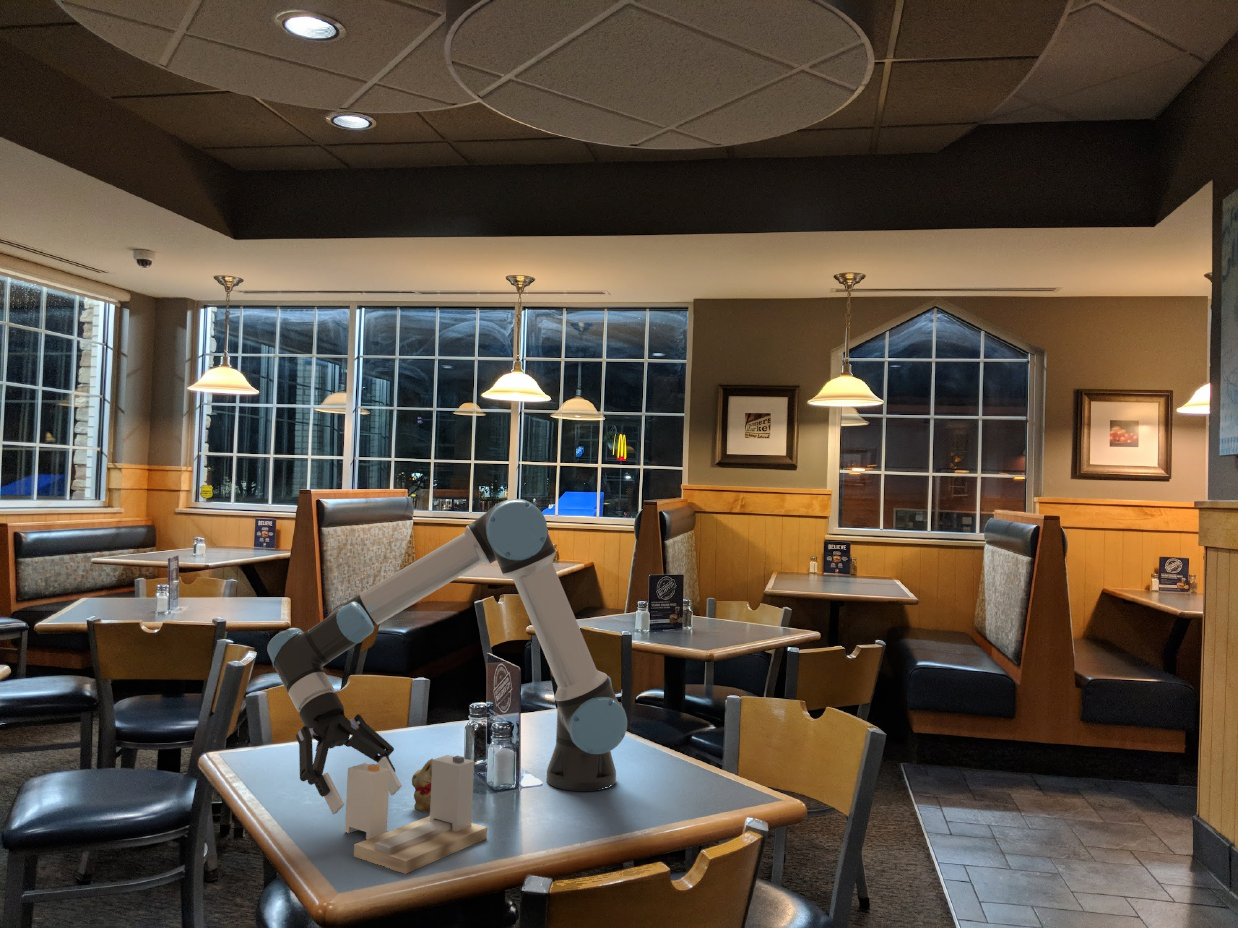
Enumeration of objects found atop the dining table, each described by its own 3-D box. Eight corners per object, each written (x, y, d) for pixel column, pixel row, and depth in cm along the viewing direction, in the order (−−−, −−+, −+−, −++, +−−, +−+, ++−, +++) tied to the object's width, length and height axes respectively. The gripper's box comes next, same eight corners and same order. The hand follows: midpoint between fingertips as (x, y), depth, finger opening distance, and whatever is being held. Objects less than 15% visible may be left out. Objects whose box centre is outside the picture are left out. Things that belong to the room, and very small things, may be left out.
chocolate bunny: (432, 800, 186) (435, 750, 186) (453, 811, 180) (456, 759, 180) (408, 805, 182) (410, 754, 183) (428, 817, 176) (430, 763, 177)
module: (344, 831, 167) (348, 763, 167) (361, 825, 170) (365, 758, 171) (369, 839, 163) (373, 769, 164) (386, 833, 167) (389, 764, 167)
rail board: (436, 823, 173) (437, 807, 173) (486, 838, 166) (487, 821, 166) (353, 856, 156) (354, 837, 156) (405, 873, 149) (406, 854, 150)
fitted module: (429, 823, 167) (432, 754, 168) (444, 817, 170) (447, 750, 171) (456, 831, 164) (459, 761, 164) (471, 825, 167) (474, 756, 168)
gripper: (357, 704, 187) (407, 794, 178) (249, 726, 166) (300, 830, 157) (377, 681, 184) (429, 771, 176) (270, 700, 163) (323, 805, 155)
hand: (368, 799), depth 166 cm, fingers open, 13 cm apart
